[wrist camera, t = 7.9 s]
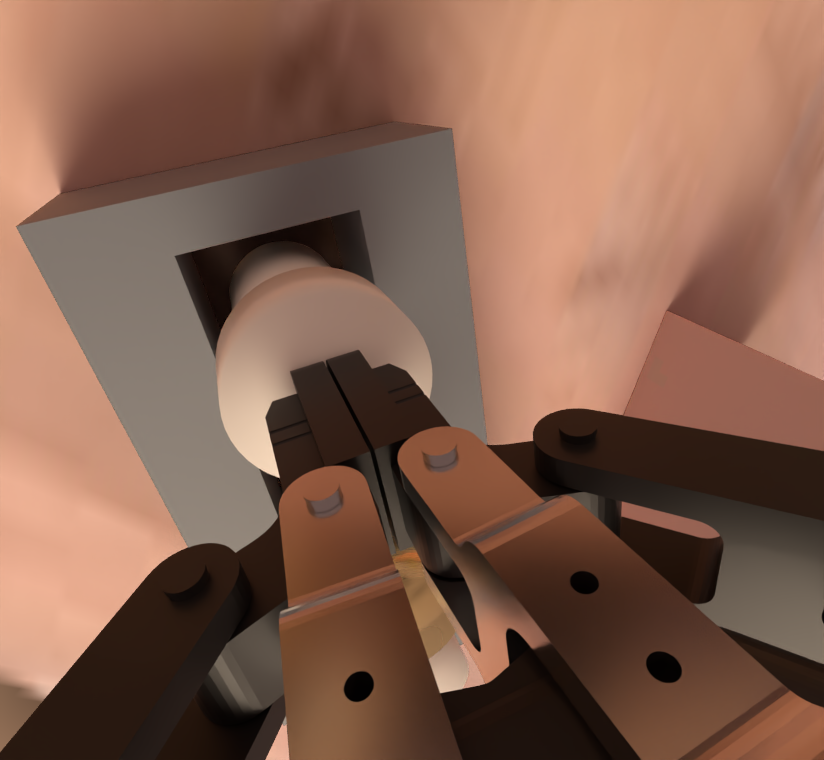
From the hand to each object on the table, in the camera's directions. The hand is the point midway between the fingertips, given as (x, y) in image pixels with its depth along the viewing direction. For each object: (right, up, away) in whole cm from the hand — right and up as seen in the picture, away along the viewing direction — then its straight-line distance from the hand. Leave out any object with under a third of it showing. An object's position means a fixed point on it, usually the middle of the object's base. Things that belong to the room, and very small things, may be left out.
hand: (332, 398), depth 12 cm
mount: (-2, -2, +12) cm, 12 cm away
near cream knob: (-2, +3, +6) cm, 7 cm away
